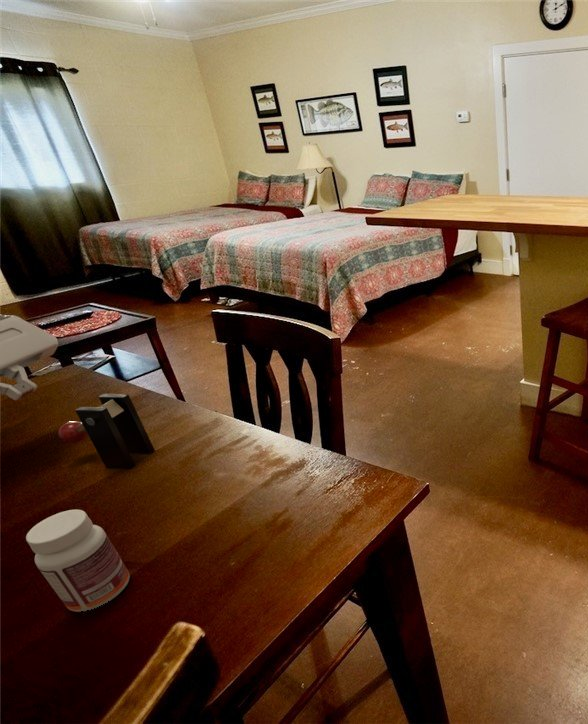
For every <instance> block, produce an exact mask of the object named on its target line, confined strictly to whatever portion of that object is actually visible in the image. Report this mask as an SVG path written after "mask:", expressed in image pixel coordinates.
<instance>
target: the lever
mask: <svg viewBox="0 0 588 724" xmlns="http://www.w3.org/2000/svg"><path fill="white" fill-rule="evenodd" d="M98 408H107V409H108V411H109V413H110V415H111V417H112V418H113V417H115V416H116V415H118V414H119V413H121V412H123V411H124V410H123V409H122V408H121V407H120V406H119V405H118V404H117V403H116V402H115V401H114V400H113V399H112V400H110V401H108V402H107V403H105V404H103V405H102V404H101V405H100V406H98ZM57 434H58V437H59V439H60V440H61V441H63V443H67V444H78V443H80V442H82V441H84V440H85V439H86V438H87V437H89V435H88V433H87V432H86V430H85V428H84V426H83V424H82V422H81V421H75V420H73V421H68V422H66V423H63V425H61V426H60V428H59V429H58V433H57Z"/></svg>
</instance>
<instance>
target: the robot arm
mask: <svg viewBox="0 0 588 724" xmlns="http://www.w3.org/2000/svg"><path fill="white" fill-rule="evenodd" d="M58 347H59V340H58V338H57V337H55V336H54V335H53V334H51V333H50V332H47V331H46V330H44V329H42V328H40V327H39V326H36V325H35V324H33V323H30V322H28V321H27V320H24V319H23V318H21V317H19V316H17V315H4V314H0V379H1V378H3V377H6V378H7V379H9V380H15V381H16V383H15V384H9V383H5V382H0V395H5V396H7V397H9V398H10V399H11V400H13V401H18V400H20V399H22V398H23V397H26V396H28V395H31V394H32V393H34V392H36V391H37V389H38V385H37V384H36V383H35V382H33V381H32V380H30V379H29V378H28V374H27V372H26V370H25V368H26V367H28V366H30V365H33V364H35V363H37V362H40V361H42V360H45V359H47V358H49V357H51V356H53V355H54V354H55V352H56V351H57V349H58Z"/></svg>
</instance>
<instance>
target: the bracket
mask: <svg viewBox="0 0 588 724" xmlns="http://www.w3.org/2000/svg"><path fill="white" fill-rule="evenodd" d="M98 399H99V401H100V403H101V406H102V405H103V404H105V403H107V402H108V401H110V400H112V399H113V400H114V401H115V402H116V403H117V404H118V405H119V406H120V407H121V408H122V409H123V410H124V411H123V412H121V413H119V414H118V415H116V416H115V417H113V418H112V417H111V415H110V413H109V411H108V409H107V408H98V407H99V406H98V407H95V406H92V407H91V406H80V407H78V408H76V409H75V410H74V411H75V413H76V415H77V417H78V419H79V421H80V422H82V424H83V426H84V428H85V430H86V432H87V433H88V437H89V439H90V441H91V443H92V444H93V446H94V448H95V450H96V452H97V454H98V456H99V457H100V459H101V461H102V463H103V464H104V467H105V468H106V469H113V470H132V469H133V468H134V467H136V466H137V464H136V462H135V461H134V460H133V459H134V458H133V457H132V455H131V454H138V455H152V454H153V453H154V452H155V451H156V450H155V448H154V446H153V443H152V440H151V439H150V437H149V435H148V433H147V431H146V429H145V426H144V425H143V421H142V420H141V418H140V416H139V414H138V411H137V409H136V408H135V405H134V403H133V401H132V399H131V396H130V395H129V394H122V393H121V394H120V393H119V394H118V393H117V394H116V393H103V394H100V395H99V396H98Z"/></svg>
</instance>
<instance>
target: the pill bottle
mask: <svg viewBox="0 0 588 724" xmlns="http://www.w3.org/2000/svg"><path fill="white" fill-rule="evenodd" d="M25 541H26V543H27V544H28V545H29V546H30V549H31V550H32V552H33V553H34V554H35V555H34V563H35V565H36V568H37V569H38V570H39V571H40V573H41V575H42V576H43V577H44V578H45V579H46V581H47V583H48V584H49V585H50V587H51V588H52V589H53V591H54V592H55V594H56V595H57V596H58V598H59V599H60V600H61V602H62V603H63V605H64V606H65V607H66V608H67V609H68V610H69V611H71V612H75V613H82V612H81V611H83V612H88V611H87V610H89V611H92V610H95V609H98V608H100V607H102V606H104V605H106V604H107V603H109V602H110V601H112V600H113V599H115V598H117V596H118V595H120V593H121V592H123V591H124V589H125V588H126V587H127V586H128V583H129V582H130V578H131V575H130V571H129V570H128V568H127V566H126V565H125V563H124V561H123V560H122V558H121V556H120V555H119V553H118V551H117V549H116V547H115V546H114V544H113V543H112V542H111V540H110V539H109V537H108V534H107V533H106V532H105V530H104V529H103V528H102V527H101V526H100V525H97V524H93V522H92V520H91V518H90V517H89V516H88V514H87V512H85V511H84V510H82V509H69V510H65V511H60V512H58V513H56V514H53V515H51V516H48V517H46V518H45V519H43V520H41V521H40V522H38V523H36V524H35V525H34V526H33V527H32V528H31V529H29V531H27V534H26V536H25ZM108 601H109V602H108ZM105 603H106V604H105ZM103 604H104V605H103ZM101 605H102V606H101ZM99 606H100V607H99ZM97 607H98V608H97ZM94 608H95V609H94ZM91 609H92V610H91Z"/></svg>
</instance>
